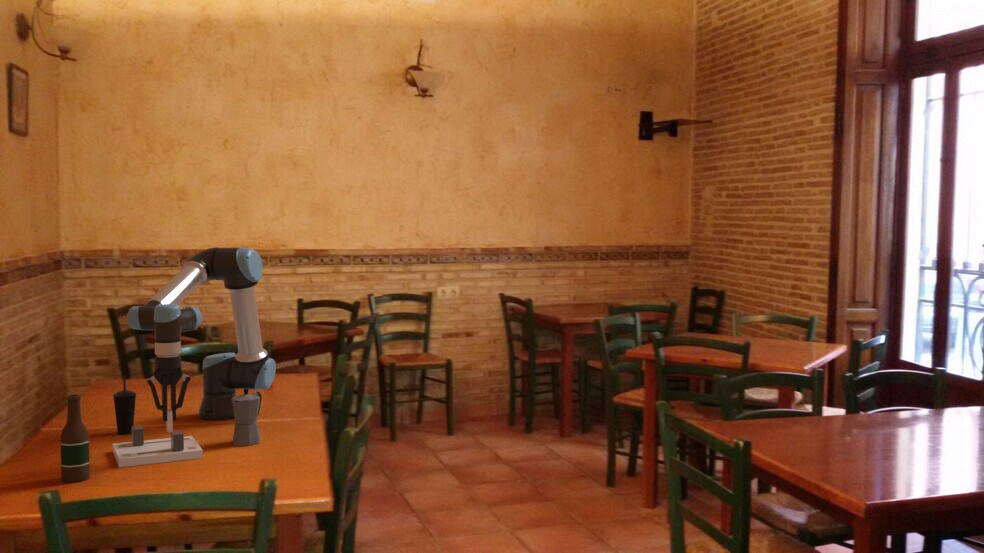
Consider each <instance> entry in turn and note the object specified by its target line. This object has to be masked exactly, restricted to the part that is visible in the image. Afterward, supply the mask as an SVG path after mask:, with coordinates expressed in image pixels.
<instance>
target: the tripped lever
mask: <svg viewBox="0 0 984 553" xmlns="http://www.w3.org/2000/svg"><path fill="white" fill-rule="evenodd" d="M184 436H185V435H184V433H183V431H182V430H181V429H180V430H173V432H170V438H171V448H172V449H173V451H179V450H184Z"/></svg>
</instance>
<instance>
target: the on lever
mask: <svg viewBox="0 0 984 553" xmlns="http://www.w3.org/2000/svg"><path fill="white" fill-rule="evenodd" d="M144 433H145V432H144V427H143V425H133V426H132V433H131V442H132V443H133V445H134V446H135V445H144V441H145V439H144V438H145V434H144Z"/></svg>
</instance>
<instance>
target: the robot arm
mask: <svg viewBox="0 0 984 553" xmlns="http://www.w3.org/2000/svg"><path fill="white" fill-rule="evenodd" d="M263 269H264V267H263V261H262V258H261V256H260V254H259V252H257V251H256V250H255V249H254V248H250V247H249V248H248V247H247V248H246V247H219V246H218V247H216V246H215V247H210V248H207V249H203V250H202V251H199V252H198V253H195V255H194V254H193V255H192V257H190V258H189V259H187V260H186V261H185V262H184V263H183V264H182V265H181V268H180V271H179V272H177V273H176V275H175V276H173V277H172V278H171V279H170V280H169V281H168V282H167V283H166V284H165V285H164V286H163V287H161V289H160V290H158V291H157V293H156V294H154V295H153V296H152V297H151V298H150V299H149V300H148V301H147V302H145V304H144V305H134V306H131V307H130V309H129V310H128V312H127V315H126V317H127V318H126V320H127V325H128V326H129V327H130V329H132V330H138V331H140V330H141V331H154V355H156V356H155V357H154V367H155V368H154V372H153V375H152V376H151V377H149V378H146V383H147V385H149V387H150V391H151V394H152V395H151V396H152V397H153V402H154V405H155V407H156V409H157V410H159V411H162V420H163V422H165V424H166V432H167V433H171V432H173V431H174V428H173V426H174V425H173V421H176V420H177V410H178V409H179V408H180V409H181V408H182V407H183V404H184V400H185V395H186V392H187V387H188V384H189V382H190V381H191V377H190V375H188V374H184V371H183V369H182V356H181V354H182V346H181V345H182V340H181V333H186V332H188V331H189V332H191V331H193V330H196V329H197V328H198V327H200V325H201V324H202V322H203V314H202V312H201V310H200V309H199V308H197V307H196V306H193V305H189V306H188V305H187V306H186V305H185V306H184V307H180V304H181V303H182V302H183V301H184V300H185V299H186V298H187V296H189V295H190V294H191V293H192V292H194V290H195V289H196V288H197V287H198V286H203V285H204V284H205V283H206V282H209V281H223V284H224V285H223V287H224V288H225V290H228V291H229V295H230V302H231V303H230V304H231V310H232V317H233V323H234V329H235V337H236V343H237V350H238V352H237V353H235V352H224V353H216V354H212V355H207V356H205V357H204V358H203V360H202V385H203V386H202V391H203V393H202V399H201V402H200V405H199V409H198V418H199V419H202V420H208V421H220V420H229V419H231V420H232V419H235V418H234V411H233V405H232V398H233V397H235V396H237V395H236V393H237V390H238V389H239V390H244V389H249V390H253V391H263V390H268V389H269V388H270V387H271V385H272V384H273V382H274V379H275V375H276V369H277V366H276V361H275V359H273V358H270V357H269V354H268V350H266V349H265V348H264V347H263V342H262V334H261V327H260V319H259V312H258V305H257V299H256V298H257V296H256V291H255V288H256V287H257V285H258V284H259V281H260V280H261V278H262V277H263V271H264V270H263ZM180 380H181V381H182V382H181V386H180V389H179V392H178V394H179V395H178V398H177V384H179V381H180ZM156 381H157V382H158V383H159V384H160V386H161V402H160V398H159V396H158V392H157V389H156V385H155V384H156ZM168 386H169V387H170V409H169V408H168ZM249 390H248V391H249Z"/></svg>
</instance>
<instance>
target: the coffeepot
mask: <svg viewBox="0 0 984 553" xmlns="http://www.w3.org/2000/svg"><path fill="white" fill-rule="evenodd" d="M262 399H263V395H262V394H261V392H259V391H256V392H253V393H250V394H249V389H243V394H239V395H236V396H235V397H233V398H232V405H233V411H234V418H233V419H235V425H234V429H233V436H232V441H231V442H232V443H231V444H233V445H234V446H237V445H238V446H239V447H248V446H247V445H251V446H255V445H254V444H256V445H258V444H260V443H261V433H260V430H259V423H258V417H259V415H260V410H261V405H262ZM259 442H260V443H259ZM238 446H237V447H238Z"/></svg>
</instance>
